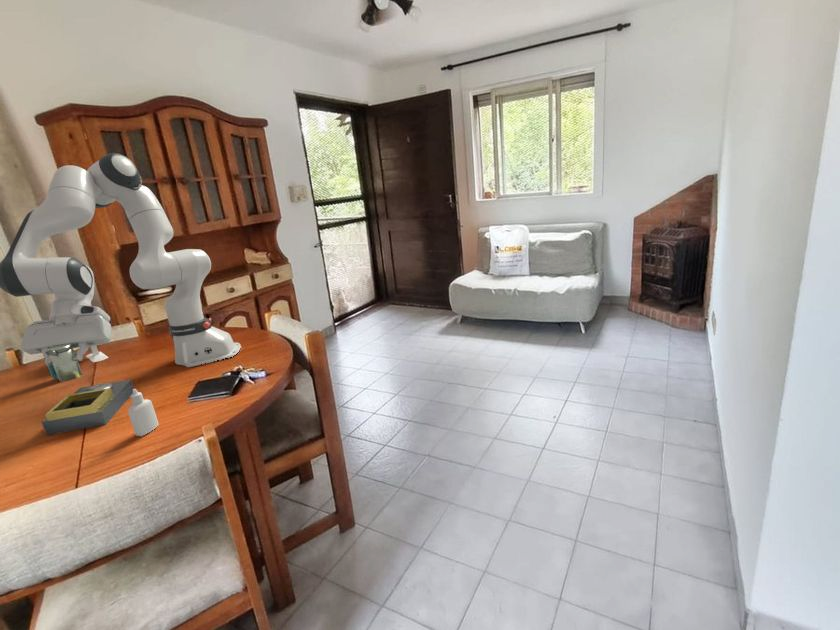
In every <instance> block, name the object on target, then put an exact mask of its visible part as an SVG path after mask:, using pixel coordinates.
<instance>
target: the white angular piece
mask: <svg viewBox="0 0 840 630" xmlns="http://www.w3.org/2000/svg"><path fill="white" fill-rule="evenodd" d="M89 349H90V350H91V353H89V354H87V355H85V357H86V358H87V359H89V360H90V361H91V362H92V363H97V362H101V361H104V360H106V359H109V356H107V355H106V354H105V353H103V352H102V351H99V349H98V345H92V346H89Z"/></svg>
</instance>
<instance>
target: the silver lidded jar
mask: <svg viewBox="0 0 840 630" xmlns="http://www.w3.org/2000/svg"><path fill="white" fill-rule="evenodd" d="M47 352H48V354H49V356H50V358H51V361H52V364H53V366H54V369H55V371H56V374H57V376H58V378H57V379H58V380H59V382H69V381H73V380H76V379H78V378H80V377H81V376H83V372H82V369H81V367H80V364H79V361H76V362H75V361H74V360H73V359H72V357H73V354H74V353H75V350H74V348H73V347H72V344H71V343H69V344H62V345H55V346H52V347H50V348H48V349H47Z"/></svg>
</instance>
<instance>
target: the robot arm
mask: <svg viewBox="0 0 840 630" xmlns="http://www.w3.org/2000/svg"><path fill="white" fill-rule="evenodd" d="M50 180H51V181H50V183H49V185H48V189H47V194H46V198H44V200H43V202H41V203H40V205H39V206H37V207H36V208H35V209H33V210H31V211H30V212H28V213H27V214H26V215H25V217H24V219H23V220H22V222H21V224H20V226H19V228H18V231H17V232H16V234H15V236H14V238H13V241H12V243H11V245H10V246H9V250H8V251H7V253H6V255H5V256H4V258H3V259H2V260H1V261H0V289H1V290H3V291H4V292H6V293H8V294H9V295H11V296H14V297H17V298H18V297H28V296H33V295H49V294H50V295H52V294H54V300H53V301H52V304H51V309H50V313H49V319H45V320H44V319H43V320H37V321H33V322H32V323H31V324H29V325H27V326H26V328H25V332H24V334H23V336H22V338H21V342H20V345H19V347H20V349H21V350H22V351H23V352H24V353H27V354H29V355H37V354H42V355H44V356H43V357H45V358H46V359H45V358H44V365H46V366H47V365H48V366H50V365H53V364H52V361H51V358H50V356H49V354H48V352H47V349H48V348H50V347H52V346H55V345H62V344H69V343H71V344H72V347H73V349H78V350H77V351H76V352H74V354H73V357H72V359H73V360H74V361H75V362H76V361H78V362H82V361H83V357H84V355H85V354H86V353H87V352H88V351H89V349H90V346H92V345H96V346H98V345H103V344H108V343H109V342H110V341H111V340H112V331H113V329H112V325H111V323H110V321H111V317H110V315H109V314H108V313H107V312H106V311H105V310H103V308H100V307H98V306H94V305H92V301H93V298H94V294H95V274H94V271H93V270H92V268H90V267H89V266H88V265H86V264H84V263H83V262H82V261H81V260H80V259H78V258H76V257H70V256H69V257H67V256H66V257H65V256H64V257H61V256H60V257H57V256H56V257H55V256H54V257H36V255H37V253H38V251H39V248H40V246H41V244H42V242H43V241H44V240H46V239H47V238H49V237H51V236H55V235H57V234H62V233H64V232H70V231H74V230H79V229H81V228H84V227H85V226H87V225H88V224H89V223H91V221H92V220H93V218H94V215H95V213H96V212H95V211H96V209H103V208H106V207H109V206H111V205H112V203H114V202H115V201H116V202H117V203H119V204H120V205H121V206H122V208H123V209H124V213H125V214H126V217H127V220H128V221H129V224H130V225H131V227H132V230H133V232H134V234H135V237H136V240H137V244H138V251H137V252H138V253H137V255H136V258H135V259H134V260H133V261H132V263H131V265H130V267H129V276H130V279H131V281H132V283H133V284H135V286H136V287H138V288H140V289H141V290H153V289H154V290H156V289H161V288H162V289H163V288H166V287H170V286H175V289H174V291H173V293H172V294H171V295H170V296H169V297H167V298H166V300H165V301H164V302H165V303H164V309H165V313H166V315H167V316H166V317H167V320H168V328H169V329H168V330H169V334H170V336H171V338H172V340H173V344H174V345H173V346H174V354H175V355H174V363H175V364H176V365H178V366H184V367H186V368H191V367H195V366H200V365H201V364H202V365H205V363H206V364H210V363H214V361H215V362H218V361H217V360H219V361H223V360H222V359H224V360H226V359H225V358H228V359H231V358H230V357H232V358H234V357H235V356H234V355H236V354H237V353H238V352H239V350H240V348H241V349H242V345H241V343H239V342H234V340H233V338H232V336H231V334H230V333H229V332H227V331H224V330H222V329H219V328H218V327H215V326H213V325H212V318H211V317H209V318H207V317H205V316H204V313H203V309H202V303H201V297H200V295H201V290H202V286H203V283H204V281H205V279H206V277H207V276H208V275H209V274H210V271H211V269H212V260H211V258H210V256H209V255H208V254H207V253H206V252H205V251H204V250H202V249H200V248H199V249H197V248H196V249H195V248H186V249H181V250H175V251H170V252H167V251H166V249H165V245H167V244H168V243H169V242H170V241H171V240H172V239H173V237H174V227H172V224H171V222H170V220H169V218H168V216H167V215H166V212H165V210H164V208H163V206H162V204H161V203H160V202H159V200H158V198H157V197H156V195H155V194H154V193H153V192H152V190H151V189H150V188H149V187H147V186H145V185H143V180H142V176H141V175H140V172H139V170H138V168H137V166H136V165H135V164H134V162H133V161H132V160H131V159H130V158H129V157H127V156H125V155H123V154H120V153H118V152H112V153H108V154H105V155H104V156H101V157H100V158H99V160H97V161H95V162H94V163H93V164H92V165H91V166H89V167H88V168H87V170H86V169H84V168H82V167H80V166H77V165H73V164H72V165H69V164H68V165H63V166H61V167H59V168H57V170H56V171H55V173H54V174H53V175H52V179H50ZM240 351H241V350H240ZM239 353H240V352H239ZM239 353H238V354H239ZM238 354H237V355H238ZM237 355H236V356H237ZM233 356H234V357H233ZM48 366H47V367H48Z"/></svg>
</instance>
